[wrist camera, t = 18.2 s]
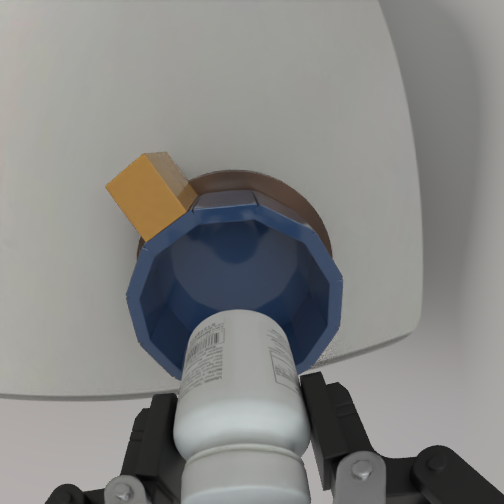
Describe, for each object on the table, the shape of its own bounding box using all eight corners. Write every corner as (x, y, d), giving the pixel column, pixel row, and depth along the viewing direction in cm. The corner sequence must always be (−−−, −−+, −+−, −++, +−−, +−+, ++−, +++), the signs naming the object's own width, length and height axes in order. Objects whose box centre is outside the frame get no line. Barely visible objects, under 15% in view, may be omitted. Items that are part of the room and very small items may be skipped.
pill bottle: (187, 380, 14) (169, 528, 6) (189, 300, 12) (152, 470, 5) (278, 386, 14) (305, 530, 7) (297, 310, 13) (354, 471, 5)
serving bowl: (344, 291, 22) (372, 330, 17) (217, 366, 24) (215, 415, 19) (226, 109, 18) (224, 94, 13) (89, 216, 19) (50, 239, 14)
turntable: (316, 155, 20) (321, 155, 19) (332, 327, 25) (336, 335, 24) (120, 193, 20) (114, 195, 19) (170, 355, 25) (167, 363, 24)
